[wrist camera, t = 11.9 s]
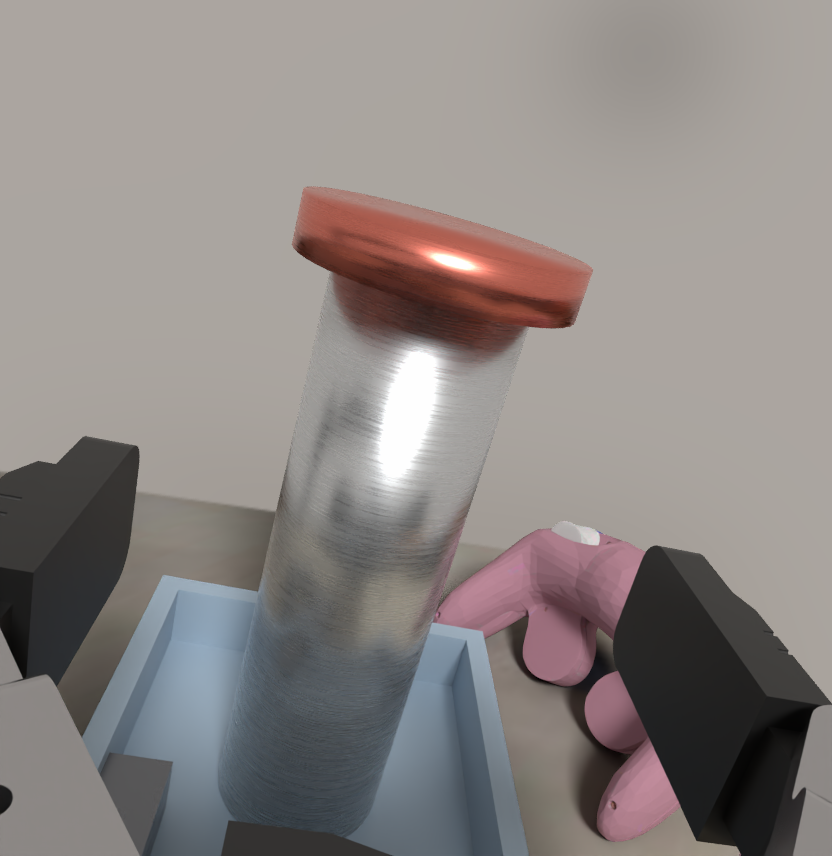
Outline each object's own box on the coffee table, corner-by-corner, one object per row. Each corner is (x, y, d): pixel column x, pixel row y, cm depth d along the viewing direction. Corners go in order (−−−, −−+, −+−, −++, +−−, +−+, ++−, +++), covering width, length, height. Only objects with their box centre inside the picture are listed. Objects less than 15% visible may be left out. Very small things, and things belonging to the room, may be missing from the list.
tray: (3, 970, 14) (9, 880, 13) (154, 640, 23) (163, 574, 23) (513, 1027, 15) (548, 947, 14) (463, 691, 25) (482, 631, 24)
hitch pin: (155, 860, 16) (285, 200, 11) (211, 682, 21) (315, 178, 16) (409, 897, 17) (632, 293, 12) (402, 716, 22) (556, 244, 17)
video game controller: (679, 864, 22) (821, 674, 22) (608, 860, 19) (772, 640, 19) (482, 652, 30) (586, 508, 29) (408, 625, 27) (524, 464, 26)
